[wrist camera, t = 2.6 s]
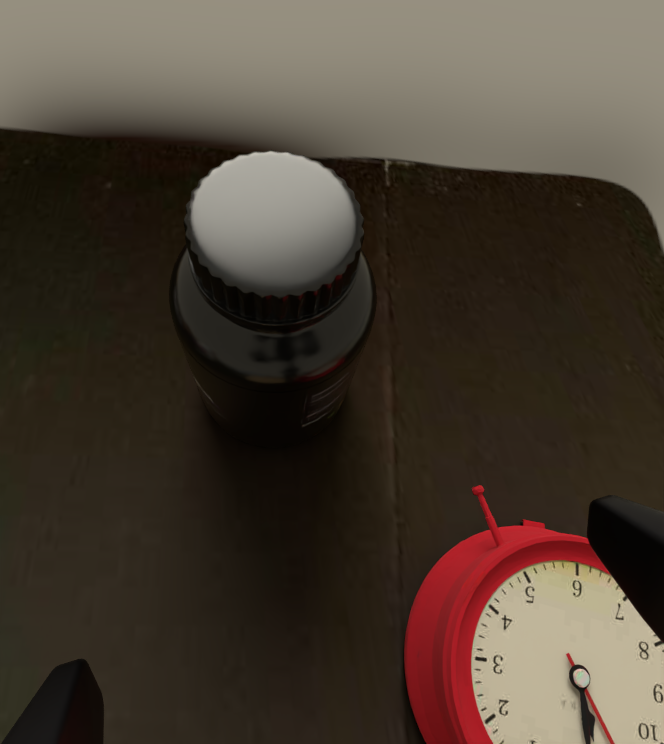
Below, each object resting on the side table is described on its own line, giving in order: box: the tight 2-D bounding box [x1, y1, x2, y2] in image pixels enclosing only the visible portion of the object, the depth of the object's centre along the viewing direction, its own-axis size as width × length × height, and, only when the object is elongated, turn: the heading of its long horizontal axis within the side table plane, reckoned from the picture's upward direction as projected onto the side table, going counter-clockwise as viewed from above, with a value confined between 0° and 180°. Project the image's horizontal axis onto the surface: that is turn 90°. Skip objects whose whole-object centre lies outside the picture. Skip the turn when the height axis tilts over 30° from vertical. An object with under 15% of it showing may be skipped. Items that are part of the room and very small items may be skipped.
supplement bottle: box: [169, 150, 377, 448], centre depth 19 cm, size 7×7×12 cm
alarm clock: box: [404, 485, 664, 744], centre depth 18 cm, size 10×6×15 cm
